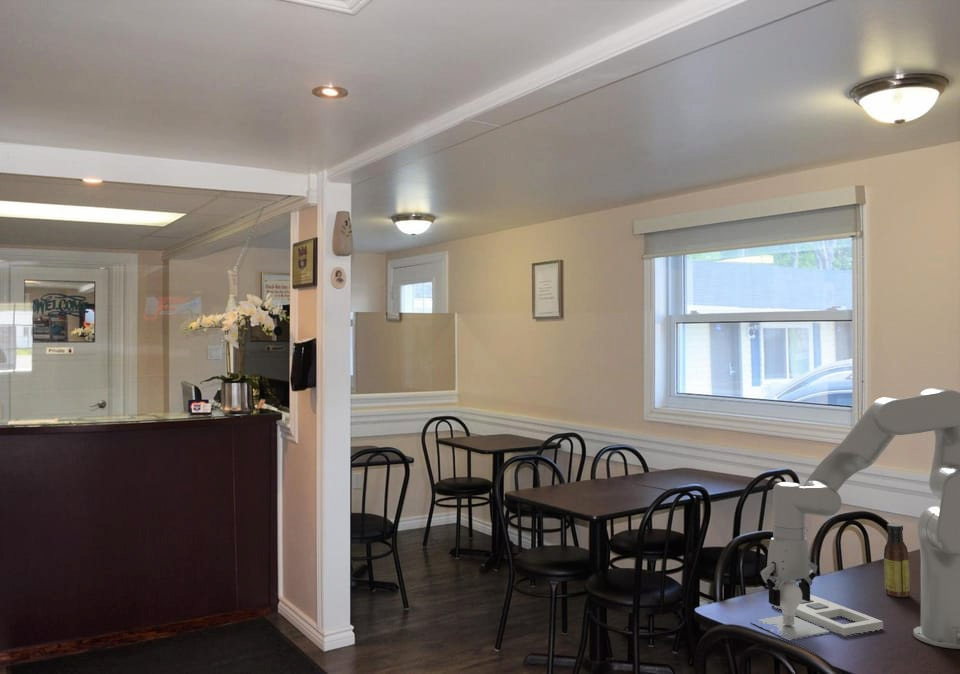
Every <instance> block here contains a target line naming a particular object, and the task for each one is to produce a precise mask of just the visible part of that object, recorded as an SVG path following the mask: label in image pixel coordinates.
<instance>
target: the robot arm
mask: <svg viewBox="0 0 960 674" xmlns="http://www.w3.org/2000/svg"><path fill="white" fill-rule="evenodd" d="M927 432H934V436H935V438H934V439H935V441H934V442H935V443H934V444H935V445H934V453H933V458H932V463H931V470H930V475H929V481H928V483H929V489H930V491H931V492H932V494H933V495H934V496H935V497H937V498H938V499H939V500H940V503H939V505H932V506H930V507H927V508H926V509H924V511H922V512H921V514H920V516H919V517H918V520H917V521H918V522H917V537H918V544H919V553H920V626H916V627H914V628H913V633H912V634H913V636H914V637H915V638H916V639H917V640H919V641H921V642H923V643H926V644H929V645H931V646H935V647H940V648H945V649H946V648H947V649H954V650H960V392H959V391H956V390H954V389H947V388H940V387H930V388H925V390H922V391H921V392H920V393H919V395H918V396H910V397H903V398H895V397H890V396H889V397H887V396H886V397H885V396H884V397H880V398H877V399H876V400H874V401H873V402H872V403H871V404H870V406H868V408H867V409H866V411H865V412H864V413H863V414H862V415H861V417H860V418H859V420H858V421H857V422H856V423H855V425H853V427H852V429H851V430H850V431H849V433H848V434H847V435H846V436H845V438H844V439H843V440H842V441H841V442H840V444H838V445H837V446H836V447H835V448H834V449H833V450H832V451H831V452H830V453H829V454H828V455H827V456H826V457H824V458H823V460H822V461H821V462H820V463H819V464H818V465H817V467H816V468H815V469H814V471H813V472H812V473H811V474H810V476H809V477H808V478H807V480H806V481H805V482H804V484H803V485H802V484H800V483H797V482H789V481H788V482H787V481H782V482H777V483H775V484H774V485H773V488H772V497H773V498H772V503H773V504H772V525H773V526H772V529H773V532H772V537H770V540H769V546H768V549H767V550H768V551H767V561H766V563H767V564H766V566H765V568H763V569H762V570H761V571H760V575H761V578H762V582H763V583H764V584H765V586H766V587H767V588H768V603H769V604H770V605H771V604H773V605H775V606H780V590H778V588H779V586H780V584H781V583H782V582H784V581H791V582H792V581H797V580H799V582H798V586H799V587H800V589H801V591H802V600H805V601H810V594H811V586H812V584H813V580H814V579H815V577H816V573H817V570H818V565H817V564H815V563H813V562H811V561H810V560H811V559H810V549H809V543H808V539H807V534H806V533H807V531H808V528H807V527H806V517H807V516H806V515H813V516H817V517H827V518H828V517H832V516H834V515H836V514H838V512H839V511H840V510H841V508H842V503H843V502H842V498H841V495H840V494H839V492H838V491H839V490H840V489H841V488H842V486H843V485H844V484H845V482H847V480H849V479H850V478H851V477H852V476H853V475H854V474H855V475H856V473H858V472H861V471H862V470H866V469H867V468H869V467H871V466H873V464H875V463H876V461H877V460H878V458H879V457H880V456H881V454H883V452H884V451H885V450H886V449H887V447H888V446H889V444H891V442H892V441H893V439H894V438H895V437H896V436H904V435H915V434H921V433H927Z"/></svg>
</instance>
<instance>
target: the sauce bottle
mask: <svg viewBox="0 0 960 674" xmlns="http://www.w3.org/2000/svg"><path fill="white" fill-rule="evenodd" d="M886 529H887V541H886V544H885V545H884V550H883V563H884V565H883V566H884V567H883V568H884V569H883V570H884V588H885V593H886V594H887V595H889V596H890V597H894V598H908V597H909V596H910V594H911V593H910V589H911V584H910V565H909V564H910V560H909V551H908V547H907V545H906V544H905V542H904V538H903V537H904V536H903V535H904V534H903V531H904V526H903V524H900V523H894V522H893V523H892V522H891V523H890V522H889V523H887V524H886Z"/></svg>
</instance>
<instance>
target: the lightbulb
mask: <svg viewBox="0 0 960 674" xmlns="http://www.w3.org/2000/svg"><path fill="white" fill-rule="evenodd" d="M778 590H780V606H781V610H782V611H781V610H780V611H781V613H782V616H783V624H785V625H786V626H788V627H790V626H792V625H794V617H795V616H794V614H795V613H796V609H797V607H798V605H799V604H800V603H801V601H802V591H801V589H800V587H799V584H797V583H795V582H793V581H792V580H791V581H782V583H781V584H780V586H779V588H778Z"/></svg>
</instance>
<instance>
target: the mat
mask: <svg viewBox="0 0 960 674" xmlns="http://www.w3.org/2000/svg"><path fill="white" fill-rule="evenodd" d="M758 620H759V621H762V622H763V623H764V624H765V622H766V623H767V624H770V625H771V624H777V625H774V626H777V628H779V629H778V632H779V631H781V632H783V633H781V634H782V636H783V637H786V638H788V639H795V640H798V639H797V638H800V639H802V638H801V637H806V636H811V637H814V636H813V635H817V636H819V635H818V634H823V633H828V632H830V633H831V631H830V630H827V629H825V628H822V627H820V626H818V625H815V624H813V623H810V622H808V621H805V620H803V619H801V618H798V617H796V616H794V625H792V626H790V627H788V626H786V625H785V624H783V615H779V616H772V617H766V618H765V617H764V618H760V619H758ZM771 631H773V629H771ZM773 632H774V631H773ZM785 633H787V634H785ZM828 634H829V633H828ZM823 635H824V634H823ZM806 638H807V637H806Z"/></svg>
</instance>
